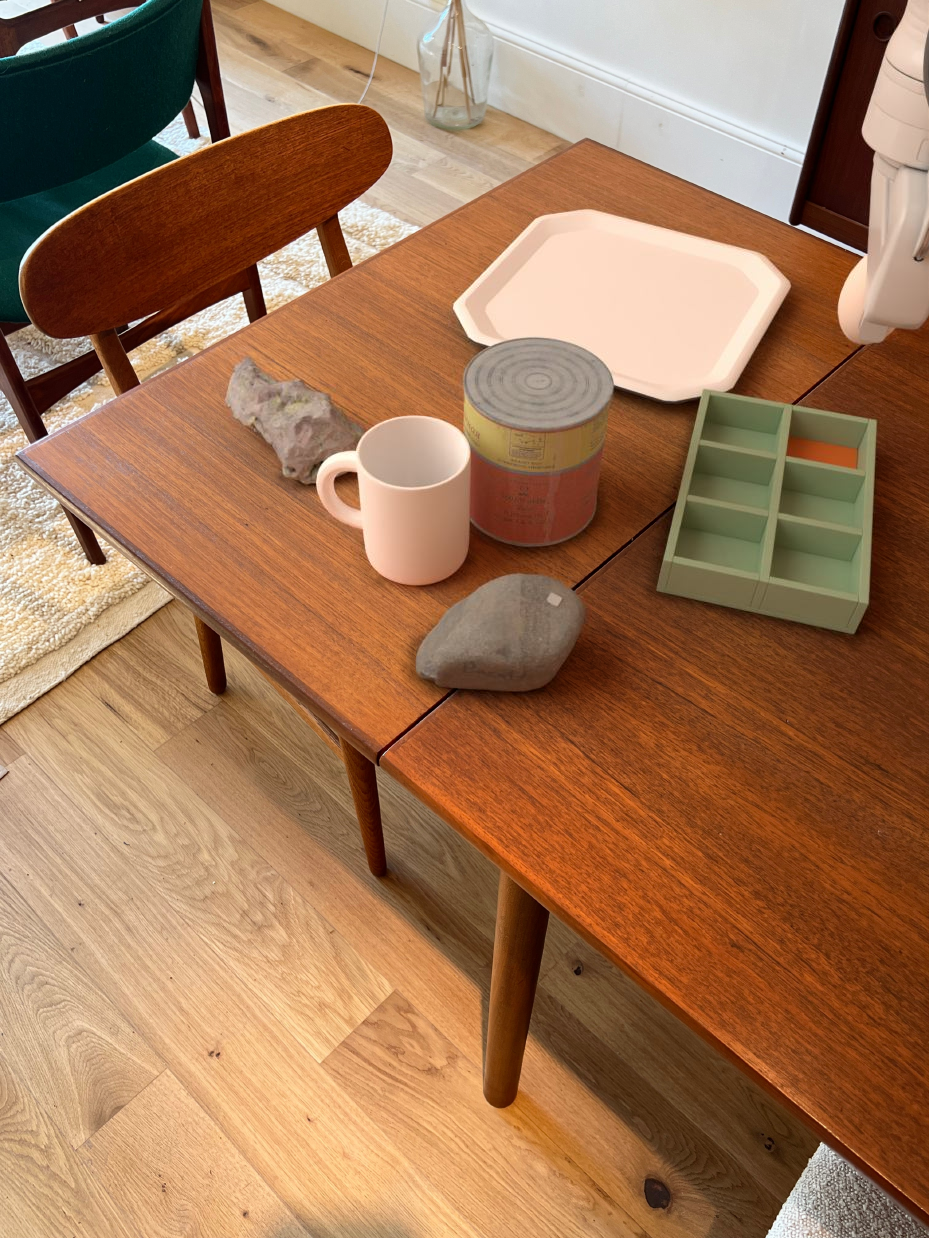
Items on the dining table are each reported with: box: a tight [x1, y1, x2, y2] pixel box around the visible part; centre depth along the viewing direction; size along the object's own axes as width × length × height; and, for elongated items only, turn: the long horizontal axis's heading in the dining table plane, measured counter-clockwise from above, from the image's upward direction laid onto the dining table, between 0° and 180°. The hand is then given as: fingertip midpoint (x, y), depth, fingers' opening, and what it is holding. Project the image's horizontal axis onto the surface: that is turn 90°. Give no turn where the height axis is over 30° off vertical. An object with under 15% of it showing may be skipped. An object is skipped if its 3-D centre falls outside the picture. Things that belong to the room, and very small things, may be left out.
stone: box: [415, 572, 586, 692], centre depth 70 cm, size 9×9×10 cm
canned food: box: [462, 337, 615, 548], centre depth 79 cm, size 11×11×12 cm
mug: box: [315, 415, 471, 586], centre depth 76 cm, size 12×8×10 cm
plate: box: [452, 208, 792, 405], centre depth 101 cm, size 29×29×2 cm
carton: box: [655, 389, 878, 635], centre depth 81 cm, size 15×22×4 cm
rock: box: [224, 355, 367, 485], centre depth 85 cm, size 16×7×7 cm, turn 49°
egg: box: [837, 254, 896, 345], centre depth 70 cm, size 5×5×7 cm
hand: (870, 313), depth 72 cm, fingers closed on egg, 4 cm apart
